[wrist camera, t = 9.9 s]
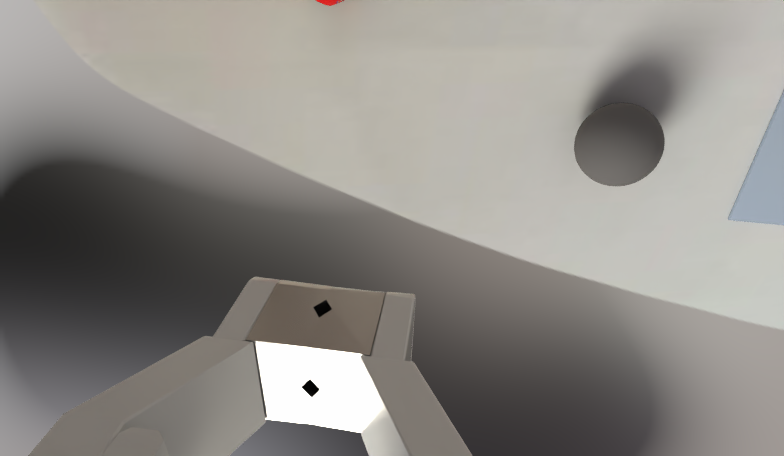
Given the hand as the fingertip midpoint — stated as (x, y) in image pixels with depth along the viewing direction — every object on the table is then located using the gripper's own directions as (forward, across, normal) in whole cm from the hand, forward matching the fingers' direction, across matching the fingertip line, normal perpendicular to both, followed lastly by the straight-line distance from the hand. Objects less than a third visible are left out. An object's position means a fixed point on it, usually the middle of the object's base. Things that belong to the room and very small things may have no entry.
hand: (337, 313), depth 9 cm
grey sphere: (+26, -13, +6) cm, 30 cm away
